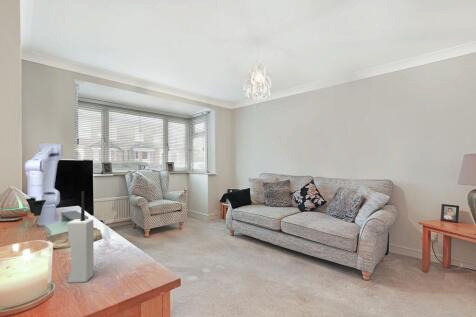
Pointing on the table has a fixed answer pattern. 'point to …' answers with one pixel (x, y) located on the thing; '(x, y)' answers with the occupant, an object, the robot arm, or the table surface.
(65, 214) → the hood
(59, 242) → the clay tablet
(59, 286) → the table surface
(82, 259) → the vintage mobile phone
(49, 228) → the mint green slab
